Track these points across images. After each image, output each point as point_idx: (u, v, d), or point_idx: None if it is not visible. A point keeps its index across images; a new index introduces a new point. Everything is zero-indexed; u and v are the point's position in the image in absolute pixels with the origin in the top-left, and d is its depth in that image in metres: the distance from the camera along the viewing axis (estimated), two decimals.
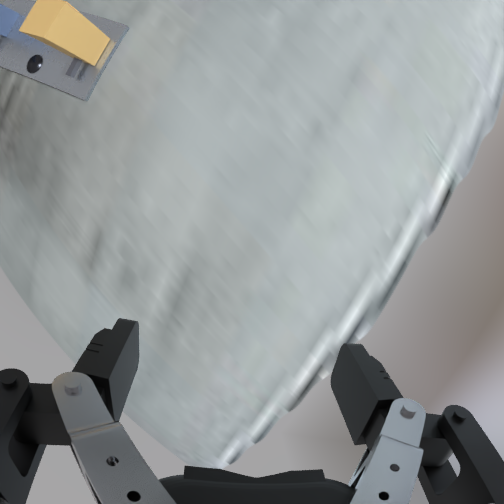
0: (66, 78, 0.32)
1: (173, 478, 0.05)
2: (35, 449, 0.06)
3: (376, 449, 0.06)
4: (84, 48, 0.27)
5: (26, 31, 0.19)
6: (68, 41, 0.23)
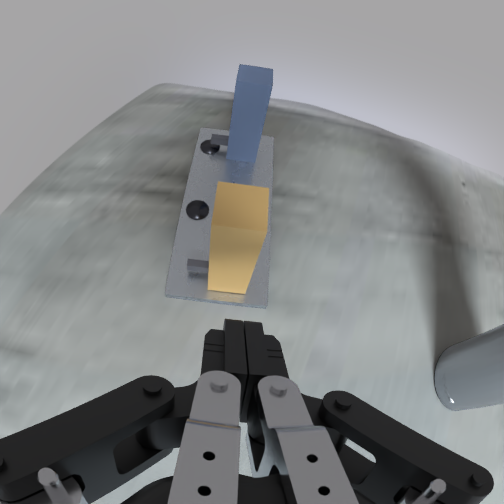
0: (186, 259, 0.36)
1: None
2: (150, 456, 0.07)
3: (281, 447, 0.06)
4: (221, 273, 0.30)
5: (217, 193, 0.24)
6: (220, 254, 0.27)
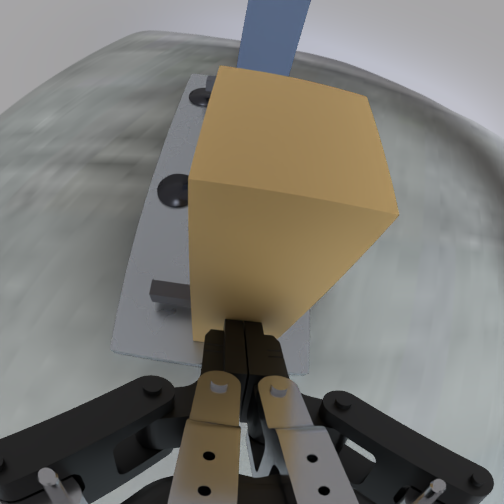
0: None
1: (173, 478, 0.05)
2: (150, 456, 0.07)
3: (281, 447, 0.06)
4: (221, 320, 0.13)
5: (217, 90, 0.07)
6: (220, 283, 0.09)
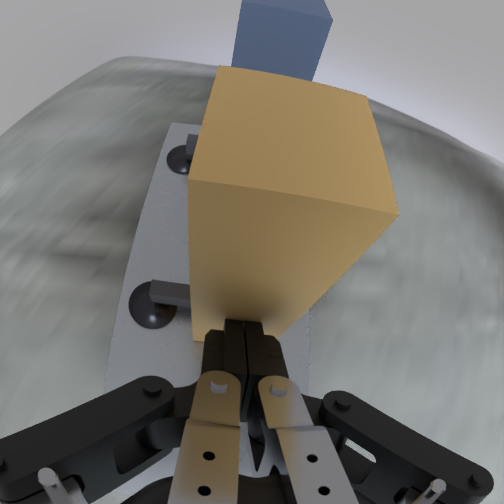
0: None
1: None
2: (150, 456, 0.07)
3: (281, 447, 0.06)
4: (221, 320, 0.13)
5: (217, 90, 0.07)
6: (220, 283, 0.09)
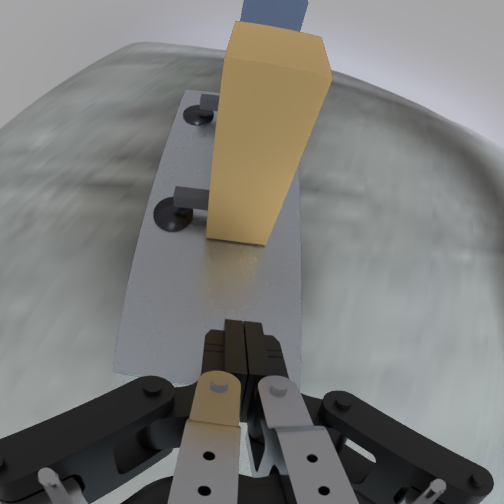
0: (150, 306, 0.19)
1: (173, 478, 0.05)
2: (150, 456, 0.07)
3: (281, 447, 0.06)
4: (231, 197, 0.17)
5: (235, 30, 0.11)
6: (234, 144, 0.14)
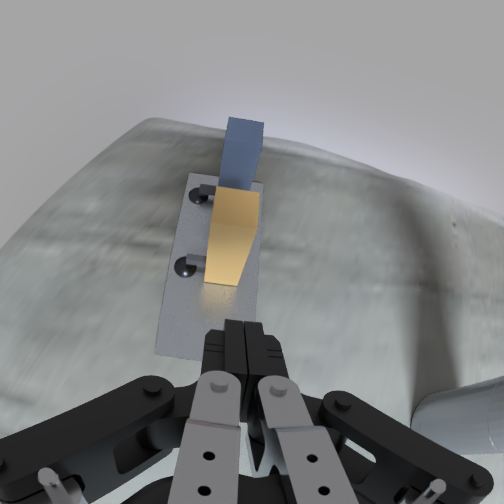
0: (174, 319, 0.36)
1: (173, 478, 0.05)
2: (150, 456, 0.07)
3: (281, 447, 0.06)
4: (217, 266, 0.35)
5: (216, 196, 0.29)
6: (216, 248, 0.31)
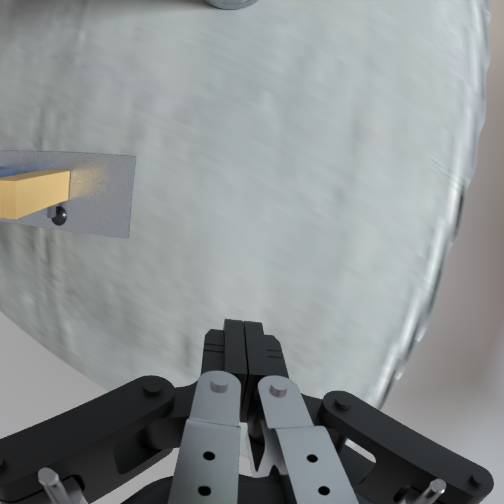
0: (99, 223, 0.41)
1: (173, 478, 0.05)
2: (150, 456, 0.07)
3: (281, 447, 0.06)
4: (52, 195, 0.34)
5: None
6: (36, 203, 0.31)
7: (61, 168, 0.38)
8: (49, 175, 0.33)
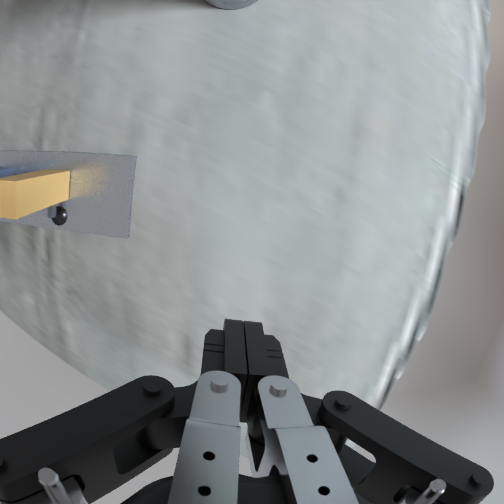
0: (99, 222, 0.41)
1: (173, 478, 0.05)
2: (150, 456, 0.07)
3: (281, 447, 0.06)
4: (52, 195, 0.34)
5: None
6: (36, 203, 0.31)
7: (61, 168, 0.38)
8: (49, 175, 0.33)
